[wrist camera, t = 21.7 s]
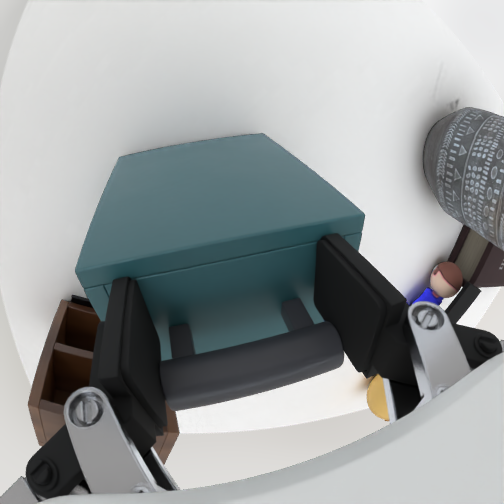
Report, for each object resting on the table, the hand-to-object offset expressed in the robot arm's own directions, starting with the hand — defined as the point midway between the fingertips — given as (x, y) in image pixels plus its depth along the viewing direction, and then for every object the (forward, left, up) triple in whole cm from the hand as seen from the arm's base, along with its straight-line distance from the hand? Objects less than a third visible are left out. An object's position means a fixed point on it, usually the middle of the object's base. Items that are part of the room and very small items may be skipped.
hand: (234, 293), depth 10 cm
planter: (+23, +14, -13) cm, 30 cm away
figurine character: (+34, -4, -13) cm, 36 cm away
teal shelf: (-1, +2, -4) cm, 5 cm away
